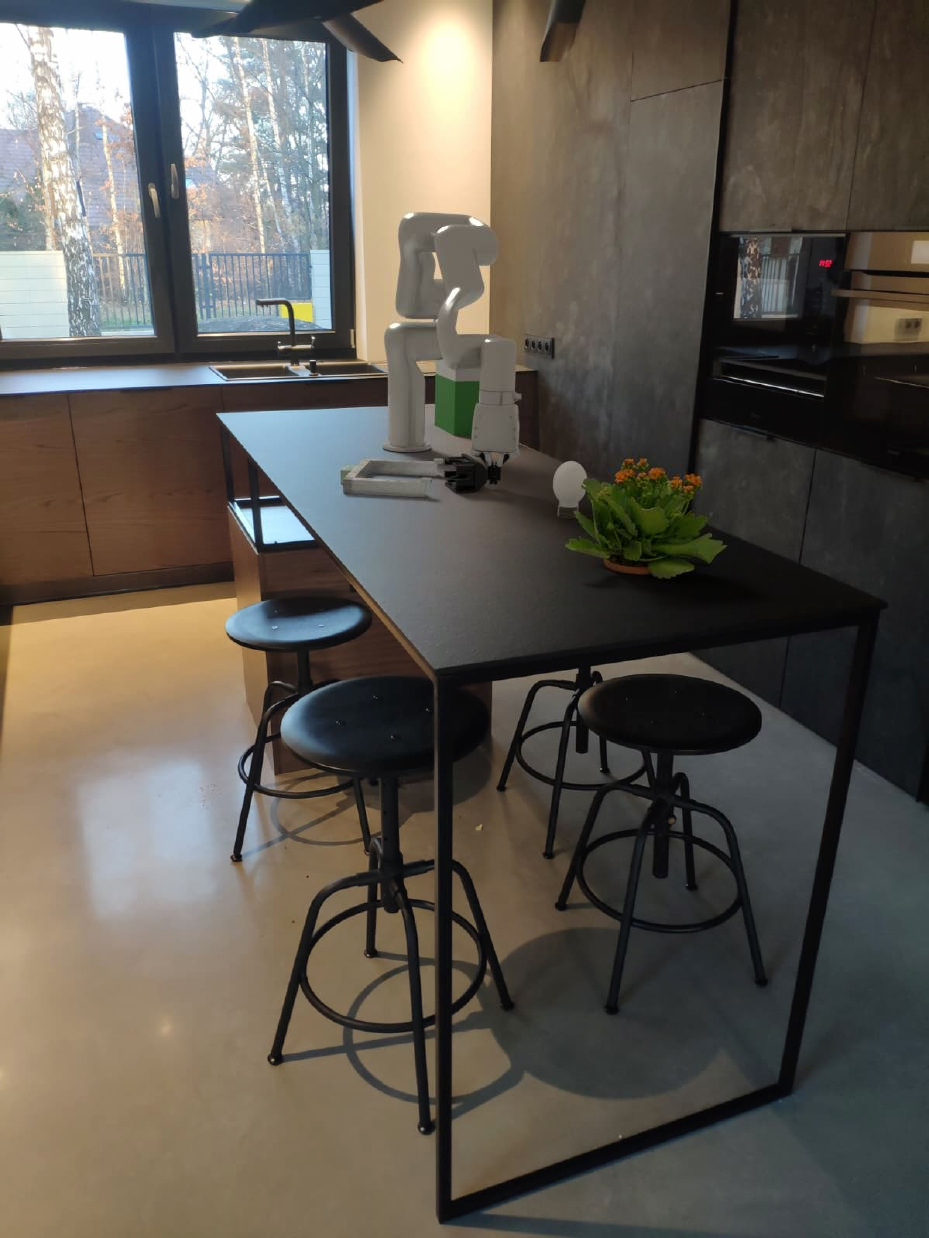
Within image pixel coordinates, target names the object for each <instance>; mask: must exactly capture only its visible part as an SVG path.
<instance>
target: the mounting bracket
mask: <svg viewBox="0 0 929 1238" xmlns="http://www.w3.org/2000/svg"><path fill="white" fill-rule="evenodd" d="M443 463H444V458H437V457H436V458H433V461H429V460H408V459H391V458H388V459H387V458H370V457H369V458H367V457H365V458H362V459H361V460H360V461H359V462H357V464H356V465H350V464H349V465H348V464H347V465H344V466H343V467H342V468H341V469H340V484H341V485H342V493H343V494H351V495H353V494H355V495H372V496H374V495H375V496H391V497H409V498H410V497H413V498H425V497H426V496H427V484H428V485H429V484H430V485H431V484H432V482H433V477H437V476H438V474H439V465H443ZM370 474H379V475H380V474H381V475H399V476H400V475H401V476H419V477H420V476H421V477H422V478H421V479H420V480H411V479H410V480H408V479H407V480H406V479H388V478H387V479H386V478H370V477H369V476H370ZM368 477H369V478H368Z"/></svg>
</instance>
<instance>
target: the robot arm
mask: <svg viewBox="0 0 929 1238" xmlns="http://www.w3.org/2000/svg"><path fill="white" fill-rule="evenodd" d="M397 230H398V233H397V240H398V248H399V255H400V256H399V257H400V259H399V260H400V261H399V269H398V275H397V284H396V293H395V301H394V302H395V303H394V304H395V310H396V312H397V314H398V315H399V317H401V318H403V319H406V320H407V319H408V320H417V321H398V322H394V323H392V324H390V325H389V326H387V328H386V329H385V331H384V335H383V343H384V350H385V351H384V352H385V356H386V364H387V365H386V366H387V410H388V411H387V418H388V419H387V421H388V422H387V428H388V429H387V435H388V436H387V440H385V441H383V442H382V443H381V447H382V449H383V450H387V451H391V452H396V453H397V452H398V453H400V452H401V453H418V452H419V453H421V452H425V451H429V450H430V449H431V442H429V441H426V440H425V436H426V435H425V431H426V427H425V426H426V425H425V424H426V423H425V422H426V378H425V375H424V373H423V372H422V370H421V368H420V367H419V365H418V364H417V363H418V362H421V361H422V362H425V361H426V362H427V361H428V362H429V361H431V362H432V361H436V360H444V362H445V364H446V365H447V366H448V367H449V368H450V369H452V370H456V371H465V370H480V388H479V403H477V404H476V406H475V410H474V417H473V426H472V435H471V448H470V452H469V456H471V457H475V458H479V459H480V460H481V461H483V463H484V464H485V466H486V469H487V471H488V480H489V485H495V486H497V485H498V481H501V479H502V466H503V465H504V464H505V463H506V462H507V461H509V460H512V459H518V458H519V456H520V450H519V443H520V418H519V417H520V415H519V413H520V412H519V407H518V405H517V404H515V402H517V401H521V400H522V393H517V392H516V390H515V389H516V371H517V370H516V369H517V368H516V366H517V343H516V341H515V340H514V339H512V338H508V337H503V336H501V335H499V334H494V333H483V334H481V333H461V334H460V333H459V334H458V332H457V328H456V327H457V322H458V316H459V311H460V310H461V309H463V308H465V307H467V306H470V305H472V304H474V303H476V302H477V301H478V300H480V299H481V297H482V296H483V294H484V292H485V283H484V279H483V276H482V272H481V269H480V266H481V267H483V266H484V267H485V266H487V267H489V266H491V265H493V264H494V263H495V262H496V261H497V259H498V256H499V249H500V248H499V240H498V237H497V234H496V233H495V231H494V229H492V228H491V226H490V225H488V224H486V223H484V222H482V221H481V220H480V219H478V218H476V217H473V216H471V215H468V214H464V213H463V214H462V213H461V214H460V213H442V212H429V211H428V212H426V211H425V212H423V211H422V212H421V211H418V212H417V211H416V212H410V213H407V214H405V215H404V216H403V217H402V218H401V220H400V222H399V225H398V229H397ZM434 253H435V255H436V258H437V263H438V266H439V270H440V274H441V278H435V272H436V267H437V266H436V259H435V256H434ZM419 320H433V321H419ZM492 453H498V455H497V461H495V464H494V461H493V457H492ZM488 480H487V481H488Z"/></svg>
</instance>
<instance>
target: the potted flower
mask: <svg viewBox="0 0 929 1238" xmlns="http://www.w3.org/2000/svg"><path fill="white" fill-rule="evenodd" d="M647 461H648V459H647V458H640V459H639V462H638V463H636V465H635V463H634V459H633V458H632V459H631V458H628V459H624V460H623V463H622V466H621V467H620V468H621V469H620V471H618V472H616V474H615V476H614V477H615V478H616V479H614V481H615V482H616V483H617V484H615V483H613V484H611V483H609V482H606V481H604V482H601V483H600V481H599V480H598V479H596V478H589V477H587V478H586V479H584V481H583V484H584V485H586V486H585V487H584V486H583V485H581V487H582V488H583V489H584V490H585V491H586V492H587V494H588V495H587V498H588V500H589V502H590V503H591V505H592V506H591V507H592V514H593V521H592V520H591V519H588V517H587V516H586V515H583V514H582V513H581V512H580V511H578V512H577V511H574V514H575V515H576V518H575V519H576V520H578V523H579V524H580V526H581V527H582V528H583V530H585V531H586V533H587V534H588V535H590V536H591V537H592V538H593V539H594V540H596V542H593V541H591V540H589V539H588V538H583V537H581V535H580V536H578V539H579V540H578V539H576V538H570V539H568V542H569V543H565V545H564V546H565V548H567V549H568V550H571V551H575V552H579V553H583V554H585V555H588V556H589V555H590V556H593V557H597V558H600V559H602V560H603V564H604V565H605V567H606V568H607V569H610V570H612V571H615V572H619V573H623V574H630V575H649V574H651V575H652V576H653V577H654V578H656V577H657V579H660V580H661V579H668V580H671V578H672V577H674V578H676V577H677V575H681V574H683V573H688V572H692V571H693V570H695V565H694V564H693V563H690V561H687V560H686V559H684V558H688V559H691V558H692V557H696V558H698V559H700V560H703V561H704V562H706V563H707V564H711V562H713V559H714V558H715V557H716V556H717V555H718V554H720V552H722V551H723V550H724V549H726V547H727V546H728V545H726V544H723V541H722V540H716V539H711V538H712V537H713V534H712V533H711V532H709V533H705V534H704V535H701V534H700V531H701V530H702V529H703V528H704V527H705V526H706V523H707V522H708V521H709V517H707V516H703V515H702V514H700V515H698V516H696V517H695V514H694V513H692V511H693V509H692V510H690V511H688V513H686V512H687V509H688V507H689V504H690V501H691V500H693V499H694V495H695V493H696V491H698V490H699V491H702V490H703V489H704V488H703V484H702V483H703V480H702V479H701V476H700V475H699V476H695V474H694V473H691V474H690V475H689V474H685V475H684V477H683V478H684V479H685V480H684V482H683V480H682V479H680V476H674V477H673V478H672V480H669V478H668V476H667V474H666V472H665V468H663V467H662V468H661V467H656V468H655V467H654V468H651V469H650V470H649V471H648V474H647V473H645V472H646V470H647V469H648V468H649V466H650V465H649V463H648V462H647ZM634 470H637V471H640V472H639V473H638V474H637V472H635V471H634ZM636 475H637V477H635V476H636ZM646 475H647V476H646ZM683 483H684V484H685V485H687V486H685V485H683ZM618 485H620V486H618ZM682 485H683V486H682ZM621 487H622V489H621ZM682 490H683V493H681V492H682ZM684 506H685V507H684ZM683 508H684V509H683ZM682 510H683V511H682ZM685 513H686V515H685ZM699 535H700V536H699ZM697 536H698V537H697ZM695 537H697V538H695ZM691 556H692V557H691ZM681 558H682V559H681Z"/></svg>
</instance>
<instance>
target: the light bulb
mask: <svg viewBox="0 0 929 1238" xmlns="http://www.w3.org/2000/svg"><path fill="white" fill-rule="evenodd" d="M586 478H588V476H587V473H586V470H585V469H584V467H583V466H582V465H581V464H580V463H579V462H576V461H574V460H569V461H565V462H563V463H562V464H560V465H559V466H558V467H557V469H556V471H555V472H554V475H553V478H552V479H553V480H552V489H553V492H554V496H555V497H556V499H557V500H558V506H557V517H558V518H563V519H577V518H576V515H575V514H574V511H577V512H579V507H580V506H579V502H580V501H582V499H583V498H584V497H585V494H586V492H587V491H585V490H584V489H583V488H582V487H581V485H583V486H584V487H585V486H586V485H584V484H583V481H584V479H586Z"/></svg>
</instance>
